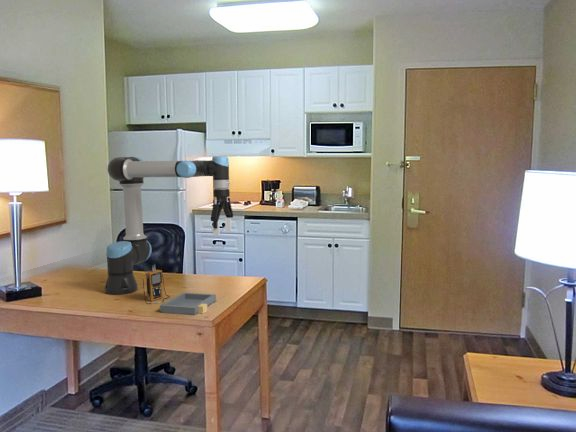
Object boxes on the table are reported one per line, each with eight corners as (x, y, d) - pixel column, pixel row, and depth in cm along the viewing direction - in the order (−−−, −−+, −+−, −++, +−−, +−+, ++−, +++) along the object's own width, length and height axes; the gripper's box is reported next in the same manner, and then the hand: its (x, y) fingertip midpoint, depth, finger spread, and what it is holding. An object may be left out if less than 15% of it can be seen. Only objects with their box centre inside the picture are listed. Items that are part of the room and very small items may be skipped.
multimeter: (156, 306, 223) (154, 260, 220) (140, 303, 228) (138, 258, 226) (180, 298, 235) (178, 255, 233) (165, 295, 240) (163, 253, 238)
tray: (160, 312, 213) (159, 305, 213) (183, 298, 233) (183, 292, 233) (200, 315, 208) (200, 308, 208) (221, 301, 228) (221, 294, 228)
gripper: (217, 190, 230) (218, 237, 232) (239, 187, 254) (240, 229, 256) (202, 190, 232) (203, 236, 235) (225, 187, 256) (226, 229, 258)
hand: (222, 233), depth 245 cm, fingers open, 13 cm apart
